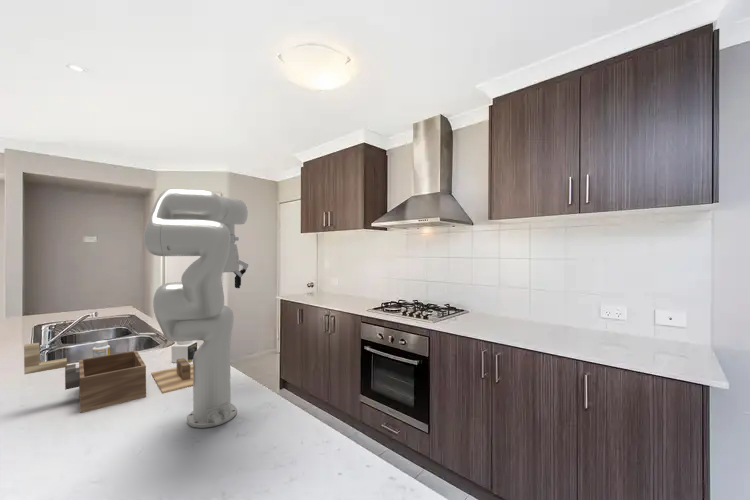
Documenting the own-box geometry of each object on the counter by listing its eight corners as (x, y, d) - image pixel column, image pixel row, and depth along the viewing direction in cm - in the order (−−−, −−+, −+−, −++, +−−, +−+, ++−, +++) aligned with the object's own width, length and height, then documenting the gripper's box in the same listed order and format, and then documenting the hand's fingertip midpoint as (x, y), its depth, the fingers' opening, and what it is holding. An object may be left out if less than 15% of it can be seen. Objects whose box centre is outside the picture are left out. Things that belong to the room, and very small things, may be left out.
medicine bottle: (188, 362, 142) (188, 334, 142) (171, 362, 142) (171, 334, 142) (197, 357, 149) (197, 329, 149) (181, 357, 149) (181, 329, 149)
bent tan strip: (66, 367, 104) (66, 340, 104) (24, 374, 98) (24, 346, 98) (66, 364, 106) (66, 338, 106) (25, 371, 101) (25, 344, 100)
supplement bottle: (104, 363, 141) (104, 339, 141) (113, 365, 139) (113, 340, 139) (89, 368, 136) (89, 342, 136) (98, 370, 134) (98, 343, 134)
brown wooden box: (146, 396, 110) (145, 362, 110) (64, 416, 97) (64, 377, 97) (136, 377, 126) (136, 347, 126) (66, 392, 113) (65, 359, 113)
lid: (217, 382, 123) (217, 364, 123) (162, 395, 112) (162, 376, 112) (200, 365, 141) (200, 350, 141) (151, 375, 130) (151, 359, 130)
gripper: (243, 240, 128) (244, 286, 128) (192, 239, 116) (193, 290, 117) (251, 240, 122) (251, 288, 122) (198, 239, 111) (199, 292, 111)
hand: (223, 289), depth 119 cm, fingers open, 9 cm apart
